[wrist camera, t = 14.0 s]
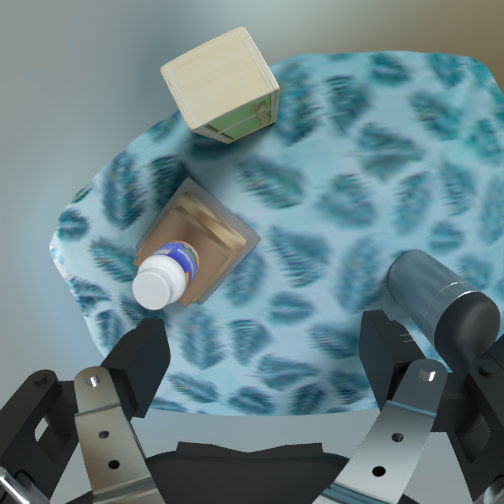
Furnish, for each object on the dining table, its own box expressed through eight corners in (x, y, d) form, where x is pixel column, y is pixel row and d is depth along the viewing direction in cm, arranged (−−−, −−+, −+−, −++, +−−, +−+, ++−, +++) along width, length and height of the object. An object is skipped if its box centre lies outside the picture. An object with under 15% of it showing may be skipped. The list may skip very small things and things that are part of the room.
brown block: (246, 240, 45) (240, 257, 36) (200, 291, 47) (187, 316, 39) (188, 191, 43) (170, 198, 35) (147, 246, 46) (123, 263, 38)
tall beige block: (229, 150, 42) (192, 139, 22) (207, 107, 41) (156, 66, 20) (279, 126, 41) (286, 94, 21) (257, 83, 39) (245, 22, 19)
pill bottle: (206, 274, 37) (186, 310, 28) (168, 285, 38) (139, 322, 29) (191, 233, 36) (164, 258, 27) (152, 246, 37) (117, 273, 27)
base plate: (261, 237, 46) (261, 239, 44) (204, 300, 49) (202, 303, 48) (189, 176, 44) (187, 176, 42) (138, 244, 47) (135, 246, 46)
